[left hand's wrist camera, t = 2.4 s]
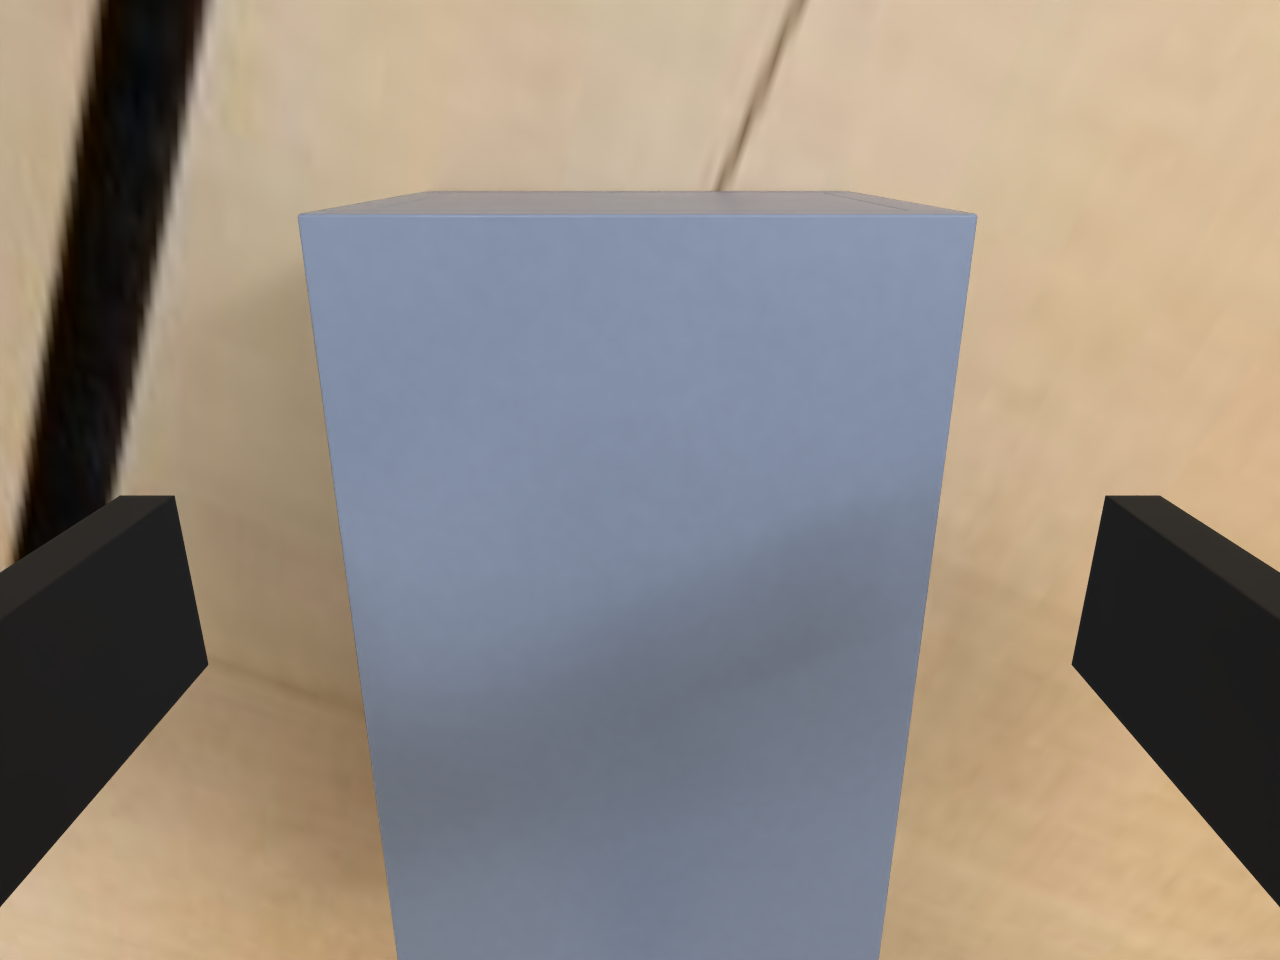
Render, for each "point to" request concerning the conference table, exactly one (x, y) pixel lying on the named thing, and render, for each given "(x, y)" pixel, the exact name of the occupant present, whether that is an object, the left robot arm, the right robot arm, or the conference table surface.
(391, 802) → the cabinet
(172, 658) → the left robot arm
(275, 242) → the conference table surface
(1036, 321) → the conference table surface
